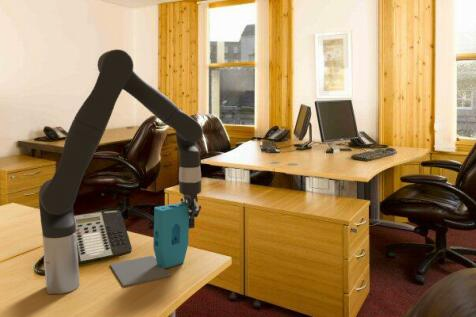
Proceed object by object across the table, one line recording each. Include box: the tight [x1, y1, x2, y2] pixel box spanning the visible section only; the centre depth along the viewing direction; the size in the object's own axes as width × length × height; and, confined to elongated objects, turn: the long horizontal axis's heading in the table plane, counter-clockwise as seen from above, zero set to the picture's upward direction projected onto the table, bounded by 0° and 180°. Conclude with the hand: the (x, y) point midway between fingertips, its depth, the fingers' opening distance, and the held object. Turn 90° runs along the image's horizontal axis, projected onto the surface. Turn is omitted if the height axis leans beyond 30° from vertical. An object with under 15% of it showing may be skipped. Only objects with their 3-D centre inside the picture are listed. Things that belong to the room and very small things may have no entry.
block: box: [152, 202, 190, 269], centre depth 144 cm, size 12×5×20 cm, turn 135°
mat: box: [109, 255, 171, 288], centre depth 140 cm, size 15×18×1 cm
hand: (190, 227), depth 147 cm, fingers closed
